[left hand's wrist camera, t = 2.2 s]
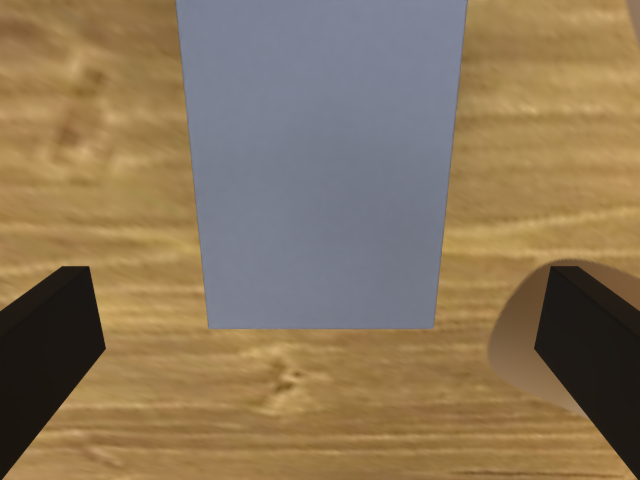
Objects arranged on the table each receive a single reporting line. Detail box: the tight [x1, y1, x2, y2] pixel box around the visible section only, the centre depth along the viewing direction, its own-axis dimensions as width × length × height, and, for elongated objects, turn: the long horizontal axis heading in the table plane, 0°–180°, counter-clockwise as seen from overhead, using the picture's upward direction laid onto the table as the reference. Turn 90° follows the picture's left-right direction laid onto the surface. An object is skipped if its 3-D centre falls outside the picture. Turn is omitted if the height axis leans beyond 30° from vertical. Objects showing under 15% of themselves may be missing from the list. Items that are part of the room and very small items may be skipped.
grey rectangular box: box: [175, 0, 468, 329], centre depth 21 cm, size 21×10×10 cm, turn 0°
